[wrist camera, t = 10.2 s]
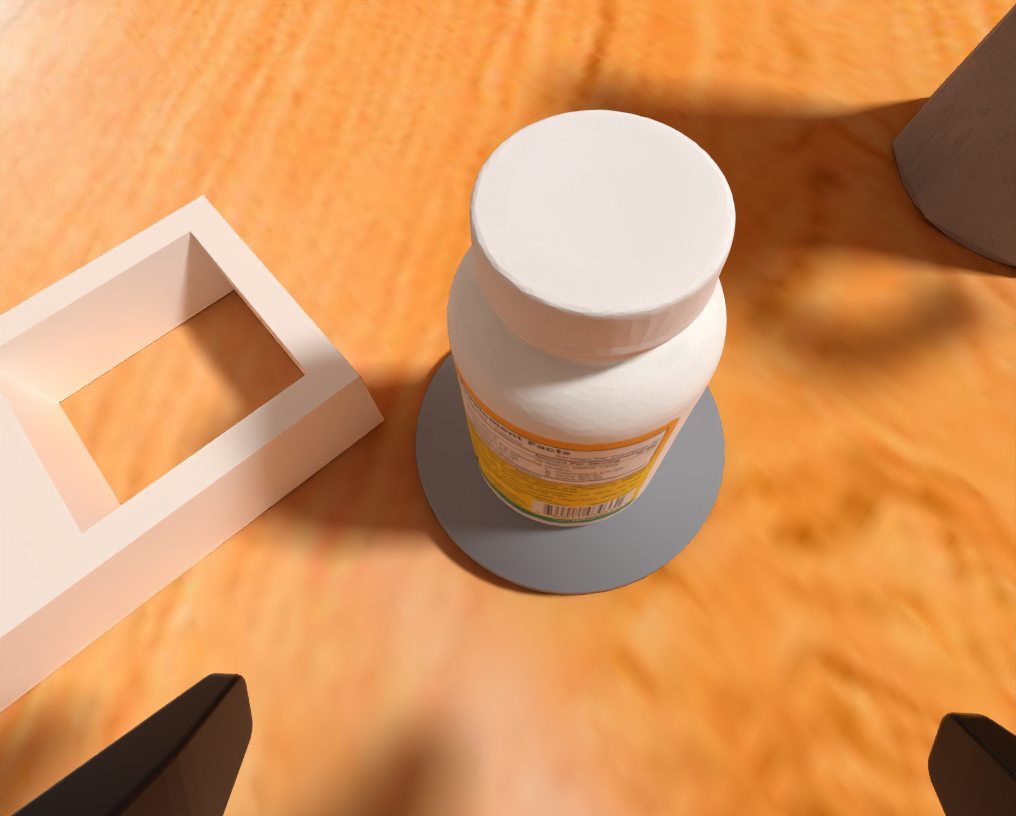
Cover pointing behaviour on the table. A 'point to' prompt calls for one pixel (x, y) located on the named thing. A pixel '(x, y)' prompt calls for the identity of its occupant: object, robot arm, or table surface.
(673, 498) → the mat
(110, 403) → the table surface
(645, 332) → the supplement bottle
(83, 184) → the table surface
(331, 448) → the desk organizer
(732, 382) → the table surface
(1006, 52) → the coffeepot
